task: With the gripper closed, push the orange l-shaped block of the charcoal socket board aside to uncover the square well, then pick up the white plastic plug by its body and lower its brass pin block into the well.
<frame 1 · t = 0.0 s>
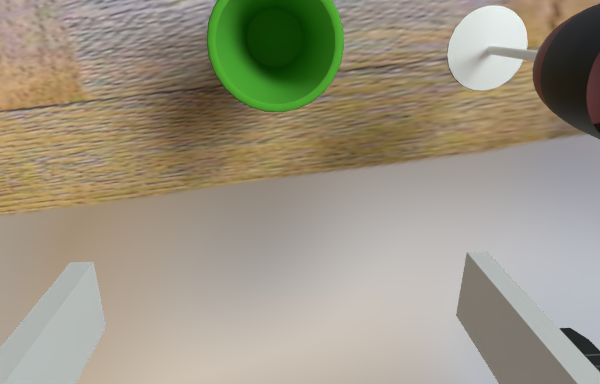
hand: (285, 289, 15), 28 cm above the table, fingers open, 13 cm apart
cup: (274, 37, 39), on the table
wineglass: (486, 49, 40), on the table
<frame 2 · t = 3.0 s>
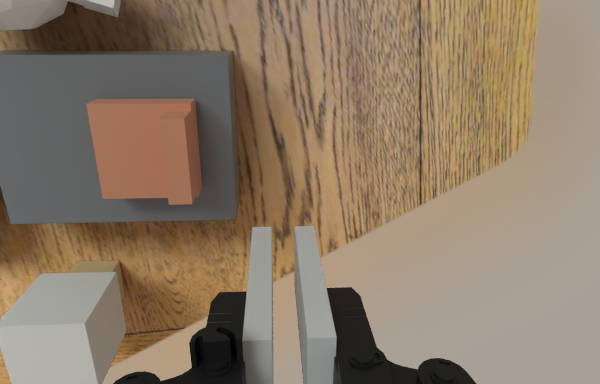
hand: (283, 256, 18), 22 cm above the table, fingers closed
socket board: (132, 129, 38), on the table
plug: (101, 278, 43), on the table
orange l-shaped block: (144, 153, 31), point 8 cm above the table, slide at 0.0 cm
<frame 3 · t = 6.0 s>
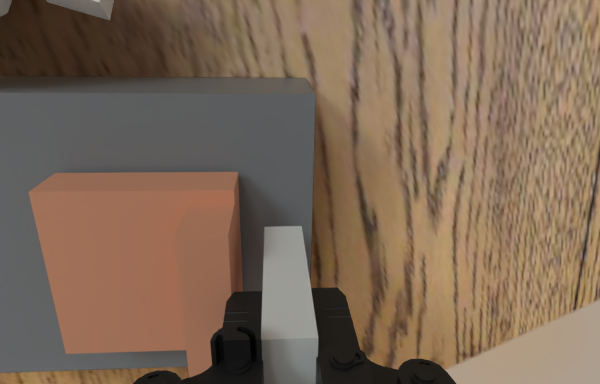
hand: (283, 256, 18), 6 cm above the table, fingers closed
socket board: (134, 202, 23), on the table
orange l-shaped block: (142, 281, 16), point 8 cm above the table, slide at 0.5 cm, touching gripper
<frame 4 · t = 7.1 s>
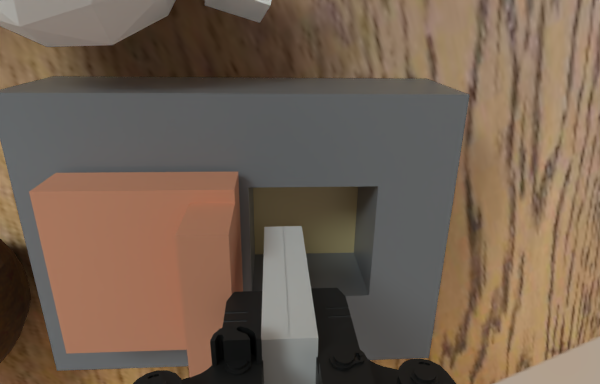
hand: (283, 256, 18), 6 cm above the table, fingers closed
socket board: (248, 201, 23), on the table
orange l-shaped block: (143, 280, 16), point 8 cm above the table, slide at 6.6 cm, touching gripper
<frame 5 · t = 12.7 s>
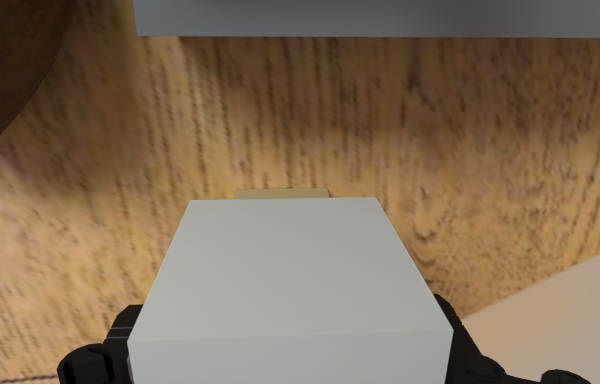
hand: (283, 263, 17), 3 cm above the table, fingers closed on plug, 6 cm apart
plug: (282, 229, 20), on the table, touching gripper
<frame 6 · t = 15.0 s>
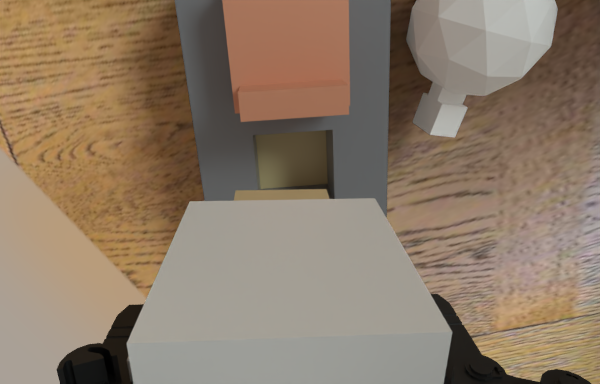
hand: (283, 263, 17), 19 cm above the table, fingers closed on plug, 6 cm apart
socket board: (289, 113, 34), on the table
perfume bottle: (437, 42, 33), on the table
plug: (281, 230, 20), point 16 cm above the table, touching gripper
orange l-shaped block: (289, 49, 25), point 8 cm above the table, slide at 8.2 cm
when the fingers open (6 cm above the table, at t = 17.3 s): plug drops 2 cm, resting on socket board.
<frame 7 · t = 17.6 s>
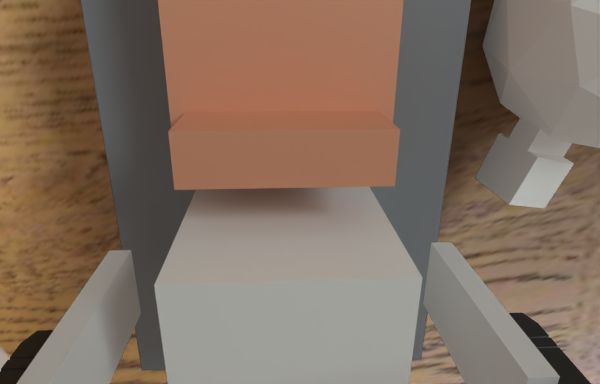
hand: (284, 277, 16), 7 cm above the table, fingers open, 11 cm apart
socket board: (280, 148, 22), on the table
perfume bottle: (520, 52, 21), on the table
plug: (281, 212, 22), point 1 cm above the table, touching socket board
orange l-shaped block: (283, 47, 13), point 8 cm above the table, slide at 8.2 cm
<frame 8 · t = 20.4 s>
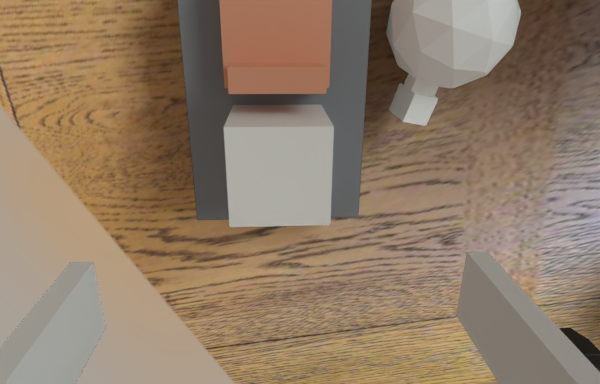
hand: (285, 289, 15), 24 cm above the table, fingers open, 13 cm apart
socket board: (276, 95, 36), on the table
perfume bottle: (416, 38, 36), on the table
plug: (277, 134, 37), point 1 cm above the table, touching socket board
orange l-shaped block: (276, 32, 27), point 8 cm above the table, slide at 8.2 cm
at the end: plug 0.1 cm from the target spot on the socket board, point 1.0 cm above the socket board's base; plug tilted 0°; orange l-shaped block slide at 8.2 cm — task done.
